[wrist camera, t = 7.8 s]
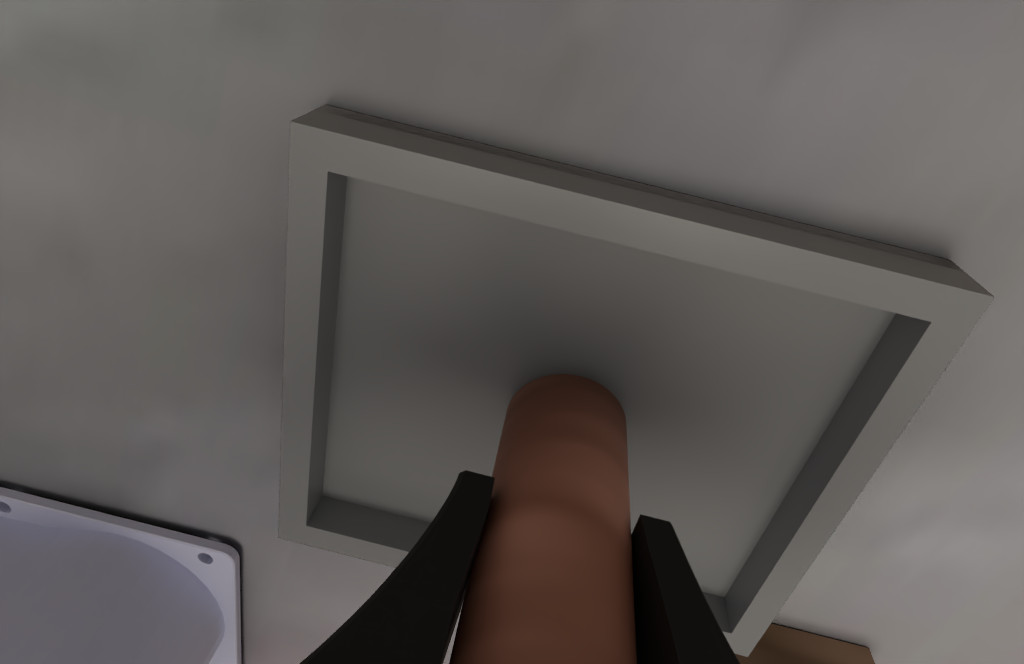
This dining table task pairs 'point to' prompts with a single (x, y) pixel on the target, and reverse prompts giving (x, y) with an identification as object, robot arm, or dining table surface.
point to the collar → (803, 649)
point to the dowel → (555, 535)
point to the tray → (590, 348)
